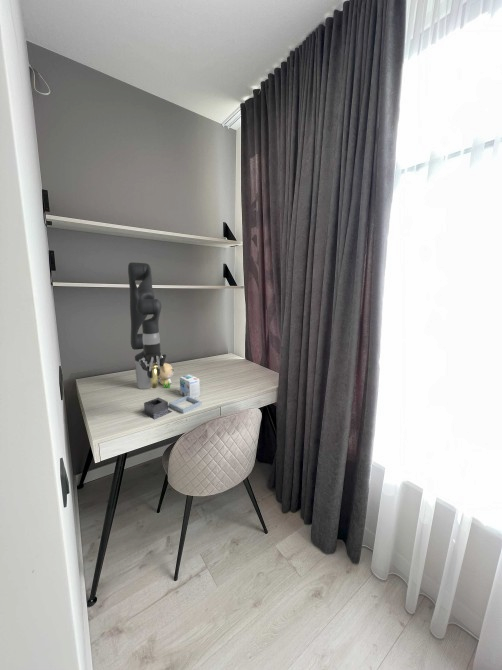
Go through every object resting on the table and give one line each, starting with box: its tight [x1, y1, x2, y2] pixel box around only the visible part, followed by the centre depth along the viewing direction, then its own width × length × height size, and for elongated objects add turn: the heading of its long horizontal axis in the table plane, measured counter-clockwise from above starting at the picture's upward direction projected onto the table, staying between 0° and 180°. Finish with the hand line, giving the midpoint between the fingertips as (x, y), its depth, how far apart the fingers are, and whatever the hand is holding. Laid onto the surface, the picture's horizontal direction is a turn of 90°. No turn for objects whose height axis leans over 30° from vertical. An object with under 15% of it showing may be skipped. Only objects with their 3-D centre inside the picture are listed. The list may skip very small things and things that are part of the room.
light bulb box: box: [179, 374, 201, 399], centre depth 154 cm, size 11×7×11 cm, turn 45°
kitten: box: [158, 362, 174, 389], centre depth 169 cm, size 15×10×15 cm
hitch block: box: [141, 397, 173, 421], centre depth 133 cm, size 12×10×6 cm
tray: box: [168, 396, 202, 415], centre depth 140 cm, size 12×12×3 cm
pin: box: [150, 363, 159, 389], centre depth 130 cm, size 4×4×11 cm
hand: (153, 376), depth 130 cm, fingers closed on pin, 3 cm apart
